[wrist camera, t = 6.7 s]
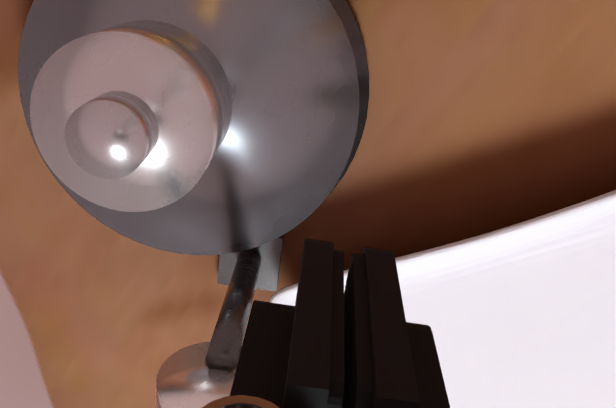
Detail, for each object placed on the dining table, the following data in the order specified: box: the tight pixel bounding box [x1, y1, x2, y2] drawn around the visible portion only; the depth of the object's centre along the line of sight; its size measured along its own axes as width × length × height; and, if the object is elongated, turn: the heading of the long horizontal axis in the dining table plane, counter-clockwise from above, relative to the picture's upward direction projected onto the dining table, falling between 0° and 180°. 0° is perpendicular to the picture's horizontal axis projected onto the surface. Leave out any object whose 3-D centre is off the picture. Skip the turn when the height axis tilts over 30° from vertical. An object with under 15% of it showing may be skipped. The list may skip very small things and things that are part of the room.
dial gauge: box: [156, 234, 284, 408], centre depth 24 cm, size 3×4×11 cm
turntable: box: [18, 0, 359, 255], centre depth 22 cm, size 18×14×6 cm
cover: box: [30, 20, 232, 212], centre depth 21 cm, size 6×6×6 cm
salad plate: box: [270, 190, 616, 408], centre depth 30 cm, size 21×21×3 cm
